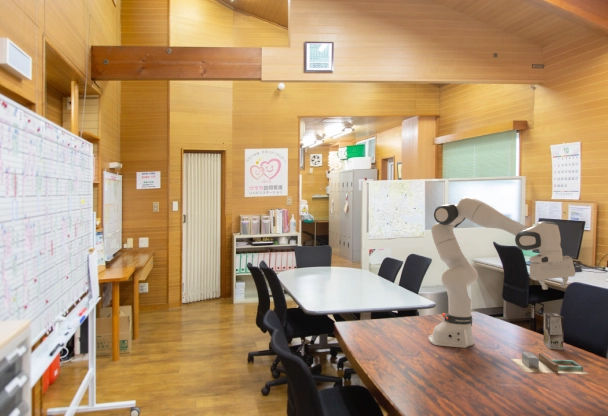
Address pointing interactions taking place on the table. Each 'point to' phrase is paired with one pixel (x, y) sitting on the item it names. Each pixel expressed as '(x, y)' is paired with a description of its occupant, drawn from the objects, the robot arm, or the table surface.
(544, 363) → the lock board
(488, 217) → the robot arm
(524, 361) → the block
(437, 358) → the table surface
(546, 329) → the coffee box
